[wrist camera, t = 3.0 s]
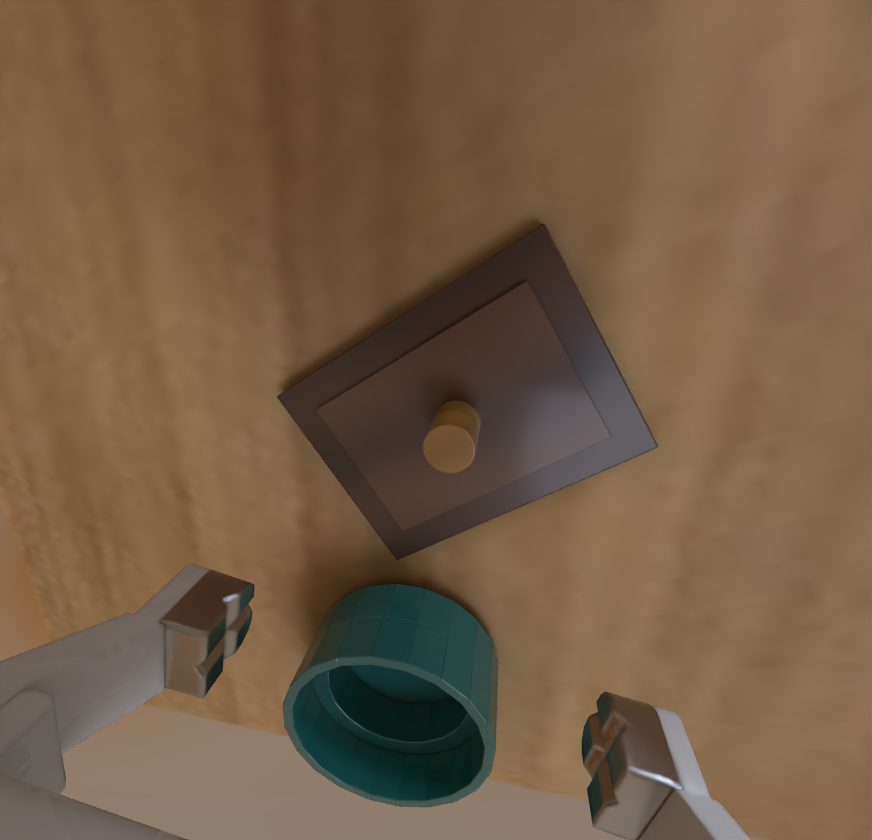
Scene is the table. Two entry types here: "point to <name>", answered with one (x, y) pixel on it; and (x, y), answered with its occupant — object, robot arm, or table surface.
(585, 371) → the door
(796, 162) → the table surface
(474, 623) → the bowl
